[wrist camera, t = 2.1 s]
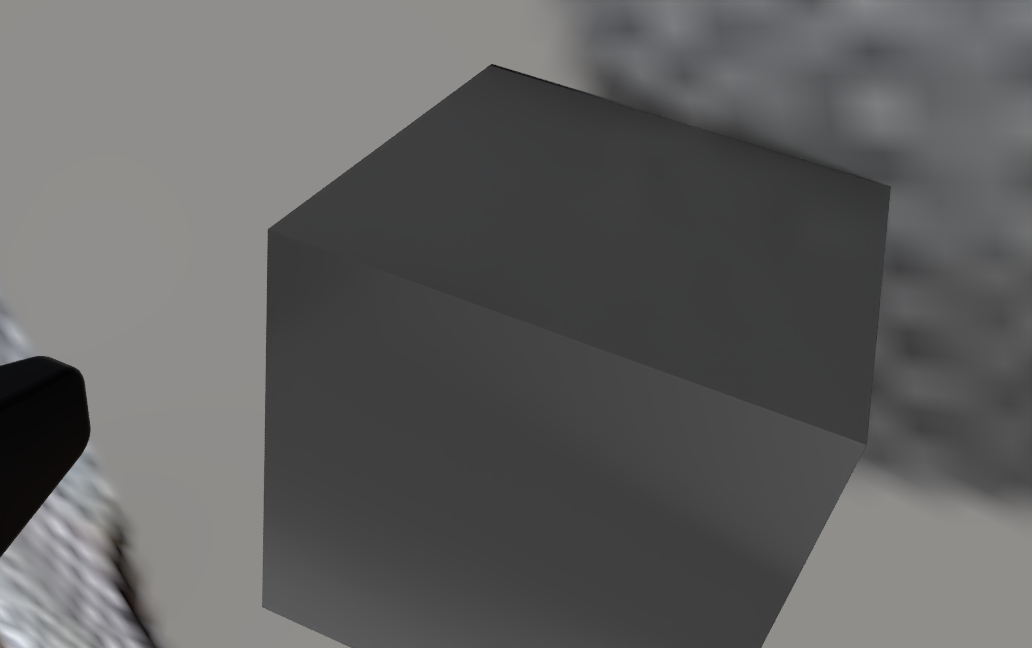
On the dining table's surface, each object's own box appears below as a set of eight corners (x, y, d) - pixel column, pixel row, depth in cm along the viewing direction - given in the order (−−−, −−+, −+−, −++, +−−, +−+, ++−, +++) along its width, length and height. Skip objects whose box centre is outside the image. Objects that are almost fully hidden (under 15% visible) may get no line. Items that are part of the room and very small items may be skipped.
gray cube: (755, 489, 14) (682, 798, 10) (443, 372, 15) (262, 607, 11) (890, 184, 11) (867, 445, 7) (492, 63, 12) (268, 230, 8)
